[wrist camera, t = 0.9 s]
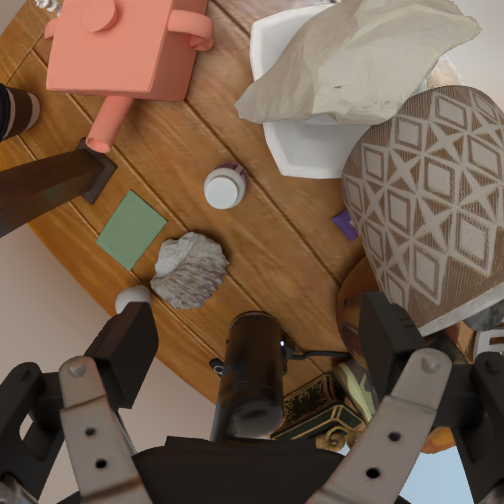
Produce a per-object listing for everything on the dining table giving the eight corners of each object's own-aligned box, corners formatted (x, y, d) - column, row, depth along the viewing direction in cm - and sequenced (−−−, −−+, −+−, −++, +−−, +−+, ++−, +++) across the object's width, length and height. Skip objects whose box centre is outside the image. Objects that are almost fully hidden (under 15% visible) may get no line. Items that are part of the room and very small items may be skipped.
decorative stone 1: (380, -34, 21) (474, -44, 10) (421, 32, 26) (517, 62, 15) (206, 76, 29) (198, 120, 18) (261, 136, 34) (287, 213, 23)
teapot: (205, 155, 46) (168, 175, 29) (75, 138, 45) (1, 154, 29) (238, -2, 36) (222, -59, 20) (103, -3, 35) (41, -37, 19)
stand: (118, 166, 47) (-98, 276, 11) (94, 203, 50) (-92, 335, 14) (84, 137, 45) (-134, 205, 9) (63, 175, 48) (-130, 273, 12)
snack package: (353, 244, 48) (332, 221, 47) (350, 240, 50) (329, 217, 49) (407, 194, 44) (388, 169, 43) (403, 191, 46) (384, 167, 45)
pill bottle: (205, 184, 48) (190, 199, 39) (224, 154, 46) (212, 162, 37) (236, 203, 49) (228, 223, 40) (255, 174, 47) (252, 187, 38)
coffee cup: (6, 136, 45) (-38, 146, 34) (15, 80, 41) (-30, 81, 30) (44, 144, 46) (-1, 155, 35) (55, 83, 41) (10, 81, 30)
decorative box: (296, 422, 67) (299, 494, 49) (268, 403, 65) (266, 480, 46) (370, 379, 61) (392, 455, 43) (346, 356, 58) (366, 437, 40)
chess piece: (85, -1, 36) (53, -16, 26) (76, 25, 37) (42, 13, 28) (64, 1, 35) (31, -13, 26) (55, 25, 37) (20, 15, 28)
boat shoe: (381, 448, 57) (411, 427, 57) (343, 392, 49) (383, 365, 49) (365, 422, 66) (393, 403, 66) (325, 362, 58) (361, 338, 57)
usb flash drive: (208, 361, 61) (207, 364, 60) (230, 351, 59) (229, 355, 59) (233, 388, 63) (232, 391, 62) (254, 379, 62) (254, 383, 61)
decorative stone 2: (495, 322, 51) (453, 330, 53) (492, 273, 51) (451, 280, 54) (516, 330, 41) (470, 341, 44) (514, 274, 42) (468, 283, 45)
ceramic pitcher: (361, 354, 58) (399, 488, 31) (308, 279, 53) (336, 432, 25) (447, 300, 53) (527, 414, 25) (409, 214, 47) (525, 317, 20)
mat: (168, 221, 50) (167, 221, 50) (130, 270, 54) (129, 271, 54) (130, 189, 48) (129, 189, 48) (96, 241, 52) (95, 242, 52)
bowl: (273, 170, 46) (274, 189, 33) (248, 42, 39) (239, 13, 26) (395, 154, 44) (437, 169, 31) (374, 31, 37) (410, 4, 24)
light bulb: (152, 305, 56) (133, 338, 47) (126, 285, 55) (103, 315, 46) (169, 284, 55) (151, 316, 45) (142, 263, 53) (119, 291, 44)
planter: (360, 63, 19) (498, 279, 11) (512, 86, 21) (606, 222, 14) (316, 214, 36) (366, 358, 29) (444, 194, 38) (496, 304, 31)
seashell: (196, 211, 46) (200, 270, 40) (238, 237, 53) (248, 292, 47) (138, 257, 53) (136, 311, 47) (179, 276, 59) (182, 326, 53)
